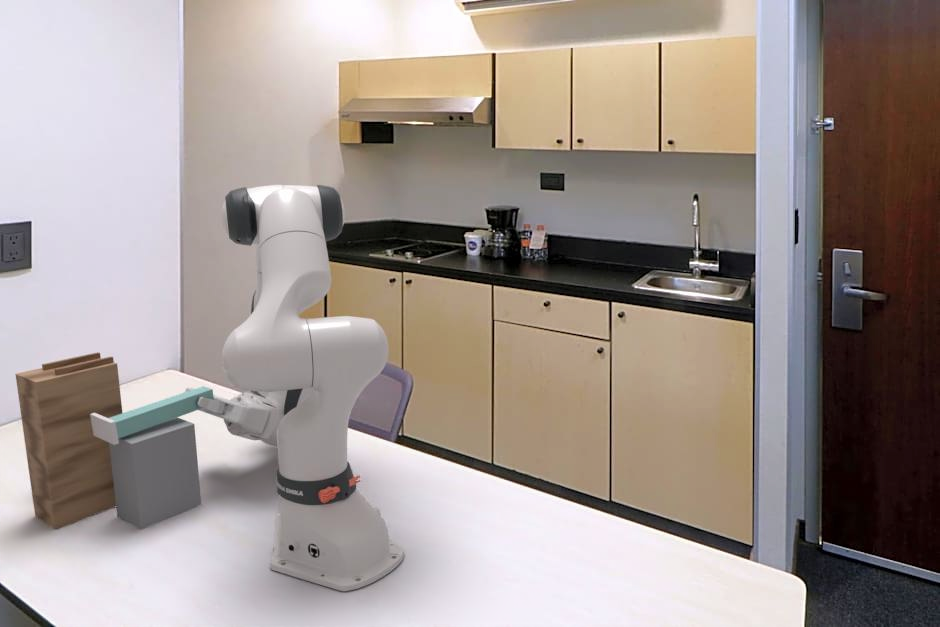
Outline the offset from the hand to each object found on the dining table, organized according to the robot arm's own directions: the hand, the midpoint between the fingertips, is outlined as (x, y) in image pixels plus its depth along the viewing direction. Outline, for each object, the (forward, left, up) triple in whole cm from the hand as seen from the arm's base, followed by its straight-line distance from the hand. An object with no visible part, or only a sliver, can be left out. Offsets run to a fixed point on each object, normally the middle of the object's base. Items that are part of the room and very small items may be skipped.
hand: (191, 398), depth 141 cm
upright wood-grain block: (+12, +16, -19) cm, 28 cm away
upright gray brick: (0, +8, -19) cm, 21 cm away
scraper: (0, +6, -2) cm, 7 cm away
